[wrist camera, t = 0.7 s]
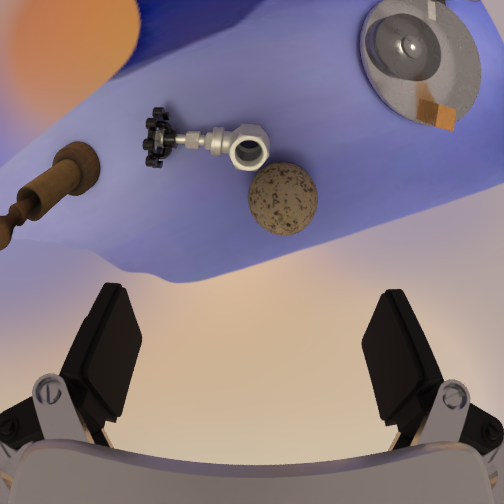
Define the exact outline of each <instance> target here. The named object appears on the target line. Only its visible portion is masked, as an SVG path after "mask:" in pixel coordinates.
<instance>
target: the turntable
mask: <svg viewBox="0 0 504 504" xmlns="http://www.w3.org/2000/svg"><path fill="white" fill-rule="evenodd" d="M399 13H405V14H410V15H413V16H416V17H418V18H419V19H421V20H422V21H424V22H425V23H426V24H427V25H428V26H429V27H430V28H431V29H432V30H433V32H434V33H435V35H436V37H437V39H438V41H439V44H440V48H441V62H440V66H439V68H438V70H437V72H436V73H435V74H434V75H433V76H432V77H431V78H429V79H427V80H424V81H409V80H402V79H396V78H392V77H389V76H387V75H385V74H383V73H382V72H381V71H379V70H378V69H377V68H376V67H375V66H374V65H373V63H372V62H371V60H370V58H369V56H368V54H367V51H366V47H365V36H366V32H367V30H368V28H369V27H370V25H371V24H372V23H374V22H375V21H377V20H379V19H382V18H385V17H388V16H391V15H394V14H399ZM360 52H361V58H362V62H363V66H364V69H365V72H366V74H367V77H368V79H369V81H370V83H371V85H372V86H373V88H374V89H375V91H376V92H377V94H378V95H379V96H380V98H381V99H382V100H383V101H384V102H385V103H386V104H387V105H388V106H389V107H390V108H391V109H393V110H394V111H395V112H396V113H398V114H400V115H401V116H403V117H405V118H407V119H409V120H412V121H414V122H416V123H419V124H423V125H427V126H435V127H438V128H442V129H446V130H450V131H453V130H454V123H455V121H457V120H459V119H460V118H462V117H463V116H464V115H465V114H466V113H467V112H468V111H469V110H470V108H471V107H472V106H473V104H474V102H475V100H476V98H477V95H478V92H479V88H480V82H481V64H480V58H479V54H478V51H477V47H476V45H475V42H474V40H473V38H472V36H471V34H470V32H469V31H468V29H467V28H466V26H465V25H464V23H463V22H462V21H461V20H460V18H459V17H458V16H457V15H456V14H455V13H454V12H453V11H451V10H450V9H449V8H448V7H446V6H445V5H444V4H442V3H440V2H439V1H437V0H383V1H381V2H379V3H378V4H377V5H375V6H374V7H373V9H372V10H371V11H370V12H369V14H368V15H367V17H366V19H365V21H364V23H363V26H362V30H361V37H360Z"/></svg>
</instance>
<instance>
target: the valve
mask: <svg viewBox="0 0 504 504" xmlns="http://www.w3.org/2000/svg"><path fill="white" fill-rule="evenodd" d="M165 120H169V112H165V109H164V107H154V109H153V118H147V120H146V128H147V129H148V138H147V139H144V141H143V149H144V150H148V156H147V157H146V166H148V167H153V168H162V165H163V161H159V159H165V158H167V157H168V156H169V155H170V154H171V151H172V148H177V146H178V144H185V147H186V148H190V149H199V147H200V146H204V147H205V149H206V150H210V152H211V156H221V155H222V153H224V154H229V156H230V158H231V160H232V162H233V164H234V166H235V168H236V169H240V170H247V171H257V170H258V169H259V168H260V167H261V166H262V165H263V163H264V162H265V161H266V160H267V158H268V157H269V156H270V155H269V150H270V140H269V137H268V135H267V133H266V132H265V131H264V130H263V129H262V128H261V126H260V125H256V124H247V123H242V124H241V126H240V127H238V128H237V129H235V130H234V131H232V132H230V131H225V130H224V128H221V127H214V129H213V132H207V134H206V135H201V131H188V132H187V133H186V135H185V134H179V131H178V129H173V128H172V126H171V125H170V124H169V123H168V122H165ZM157 127H158V128H159V130H157ZM245 140H252V141H255V142H257V143H258V144H259V145H258V146H257V147H255V148H253V149H247V148H244V147H242V146H241V145H240V143H241V142H242V141H245ZM155 146H157V149H156V150H155Z"/></svg>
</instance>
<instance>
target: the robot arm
mask: <svg viewBox="0 0 504 504" xmlns="http://www.w3.org/2000/svg"><path fill="white" fill-rule="evenodd" d="M141 343H142V334H141V331H140V329H139V326H138V323H137V320H136V318H135V315H134V312H133V309H132V306H131V303H130V300H129V297H128V294H127V291H126V289H125V288H123V287H122V285H121V284H119V283H105V284H104V285H103V287H102V289H101V291H100V293H99V295H98V297H97V298H96V300H95V302H94V304H93V306H92V308H91V310H90V312H89V314H88V316H87V317H86V318H85V319H84V321H83V323H82V325H81V327H80V329H79V331H78V333H77V335H76V337H75V340H74V342H73V344H72V346H71V348H70V351H69V353H68V355H67V357H66V360H65V362H64V364H63V366H62V369H61V371H60V374H59V375H56V374H46V375H43V376H42V377H40V378H39V379H38V380H37V381H36V383H35V384H34V386H33V390H32V396H31V397H29V398H28V399H26V400H24V401H22V402H20V403H18V404H17V405H14V406H13V407H11V408H9V409H7V410H5V411H3V412H2V413H1V414H0V504H504V429H503V426H502V424H501V422H500V421H499V420H498V419H497V418H495V417H493V416H492V415H490V414H488V413H486V412H485V411H483V410H482V409H480V408H478V407H477V406H475V405H473V404H472V403H470V394H469V392H468V390H467V388H466V387H465V385H464V384H462V383H461V382H459V381H457V380H447V381H445V382H444V379H443V377H442V374H441V372H440V369H439V367H438V364H437V362H436V360H435V357H434V355H433V352H432V350H431V348H430V346H429V343H428V341H427V339H426V337H425V335H424V332H423V330H422V328H421V326H420V324H419V322H418V320H417V318H416V316H415V314H414V312H413V310H412V308H411V306H410V304H409V302H408V300H407V298H406V296H405V294H404V292H403V291H402V290H401V289H388V290H386V291H385V293H383V294H382V295H381V296H380V299H379V302H378V304H377V306H376V309H375V311H374V313H373V316H372V318H371V321H370V323H369V325H368V328H367V330H366V332H365V334H364V336H363V339H362V349H363V352H364V356H365V360H366V363H367V367H368V370H369V374H370V378H371V382H372V386H373V389H374V393H375V398H376V401H377V406H378V410H379V414H380V418H381V419H382V420H385V425H386V426H390V425H396V424H397V427H398V433H397V435H396V437H395V439H394V441H393V442H392V444H391V446H390V448H389V450H388V451H387V452H382V453H377V454H371V455H366V456H360V457H355V458H348V459H341V460H333V461H325V462H315V463H303V464H286V465H229V464H228V465H227V464H211V463H200V462H190V461H182V460H174V459H167V458H160V457H154V456H149V455H143V454H138V453H133V452H128V451H123V450H119V449H114V447H113V446H112V444H111V442H110V440H109V438H108V436H107V434H106V432H105V430H104V425H105V421H110V422H114V423H116V420H117V417H120V416H121V414H122V411H123V407H124V403H125V400H126V396H127V392H128V388H129V385H130V381H131V378H132V374H133V371H134V367H135V364H136V360H137V357H138V353H139V350H140V347H141Z"/></svg>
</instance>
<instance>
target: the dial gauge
mask: <svg viewBox="0 0 504 504" xmlns="http://www.w3.org/2000/svg"><path fill="white" fill-rule="evenodd" d="M437 1H439V2H440V3H442V4H444V5H445V6H446V4H445V0H437ZM466 1H471V2H478V1H480V0H466Z"/></svg>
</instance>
